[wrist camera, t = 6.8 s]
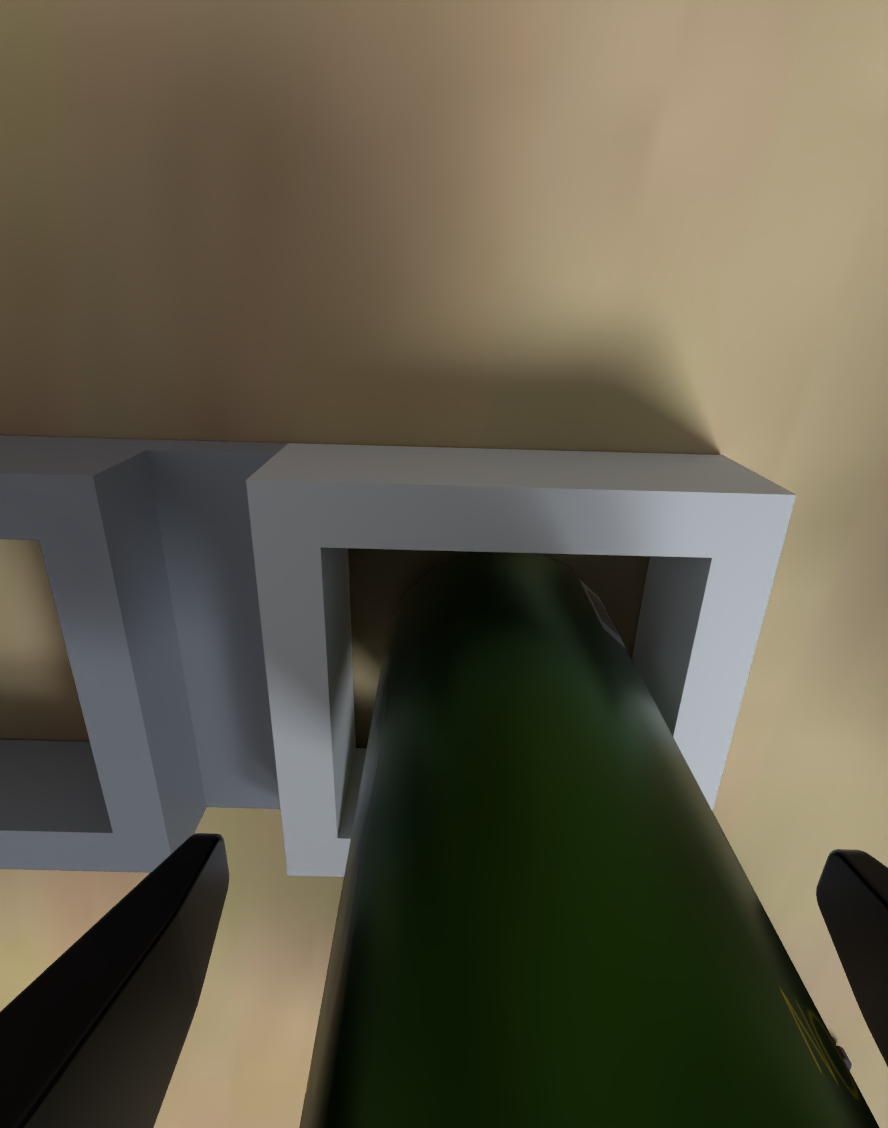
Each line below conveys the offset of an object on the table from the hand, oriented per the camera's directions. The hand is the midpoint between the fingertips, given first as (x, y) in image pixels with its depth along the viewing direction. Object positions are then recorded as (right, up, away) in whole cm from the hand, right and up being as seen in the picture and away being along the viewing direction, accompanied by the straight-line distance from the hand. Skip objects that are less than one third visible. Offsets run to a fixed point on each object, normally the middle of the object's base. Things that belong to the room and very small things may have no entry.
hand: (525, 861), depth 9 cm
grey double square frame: (-6, +3, +6) cm, 9 cm away
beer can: (0, +3, +6) cm, 7 cm away
